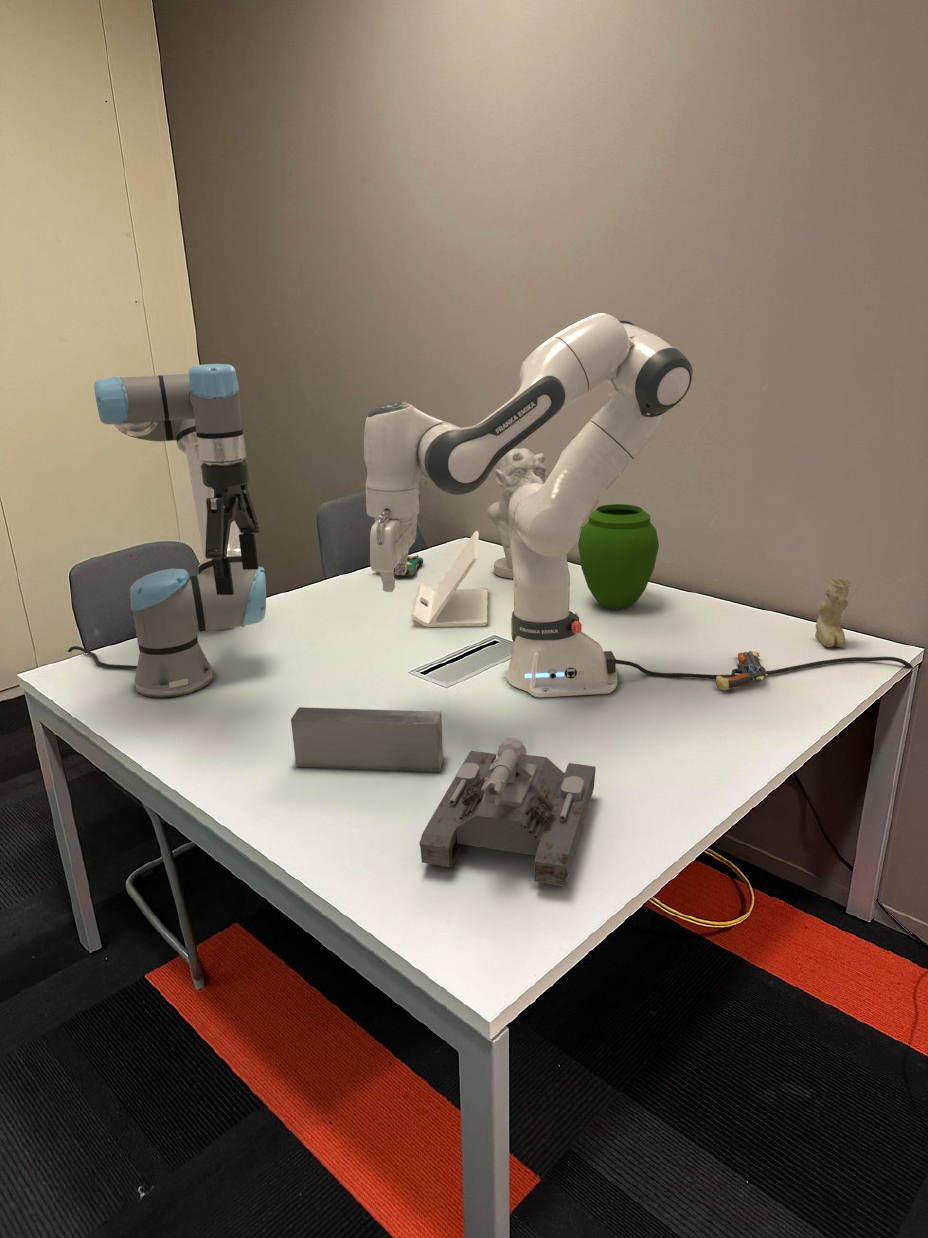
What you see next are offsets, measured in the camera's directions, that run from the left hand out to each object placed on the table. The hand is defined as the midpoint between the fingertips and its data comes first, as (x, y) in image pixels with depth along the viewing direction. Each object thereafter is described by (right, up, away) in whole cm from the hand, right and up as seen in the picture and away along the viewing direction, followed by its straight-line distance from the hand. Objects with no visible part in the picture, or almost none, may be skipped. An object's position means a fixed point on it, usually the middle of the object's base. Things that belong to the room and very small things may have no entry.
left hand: (238, 581), depth 150 cm
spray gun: (+22, +7, +97) cm, 99 cm away
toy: (+47, -38, -25) cm, 66 cm away
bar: (+24, -31, -6) cm, 40 cm away
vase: (+78, -3, +64) cm, 101 cm away
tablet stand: (+37, -4, +64) cm, 74 cm away
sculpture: (+120, -12, +37) cm, 126 cm away
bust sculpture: (+57, +5, +89) cm, 105 cm away
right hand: (+28, 0, -3) cm, 28 cm away
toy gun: (+96, -18, +23) cm, 100 cm away
